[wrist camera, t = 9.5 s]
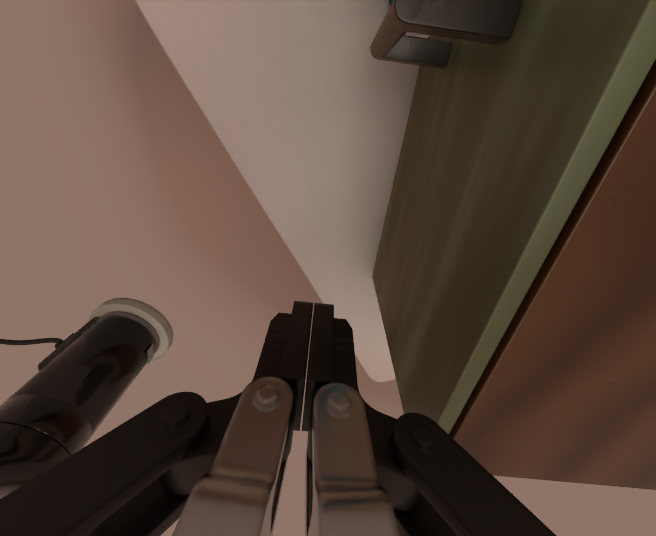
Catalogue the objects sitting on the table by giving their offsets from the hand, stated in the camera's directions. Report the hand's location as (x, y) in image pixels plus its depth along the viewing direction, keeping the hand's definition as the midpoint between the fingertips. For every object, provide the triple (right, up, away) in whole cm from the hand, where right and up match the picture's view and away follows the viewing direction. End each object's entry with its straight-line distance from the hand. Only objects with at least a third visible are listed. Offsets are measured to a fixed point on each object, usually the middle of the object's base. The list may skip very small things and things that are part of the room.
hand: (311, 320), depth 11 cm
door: (+6, +13, +22) cm, 26 cm away
